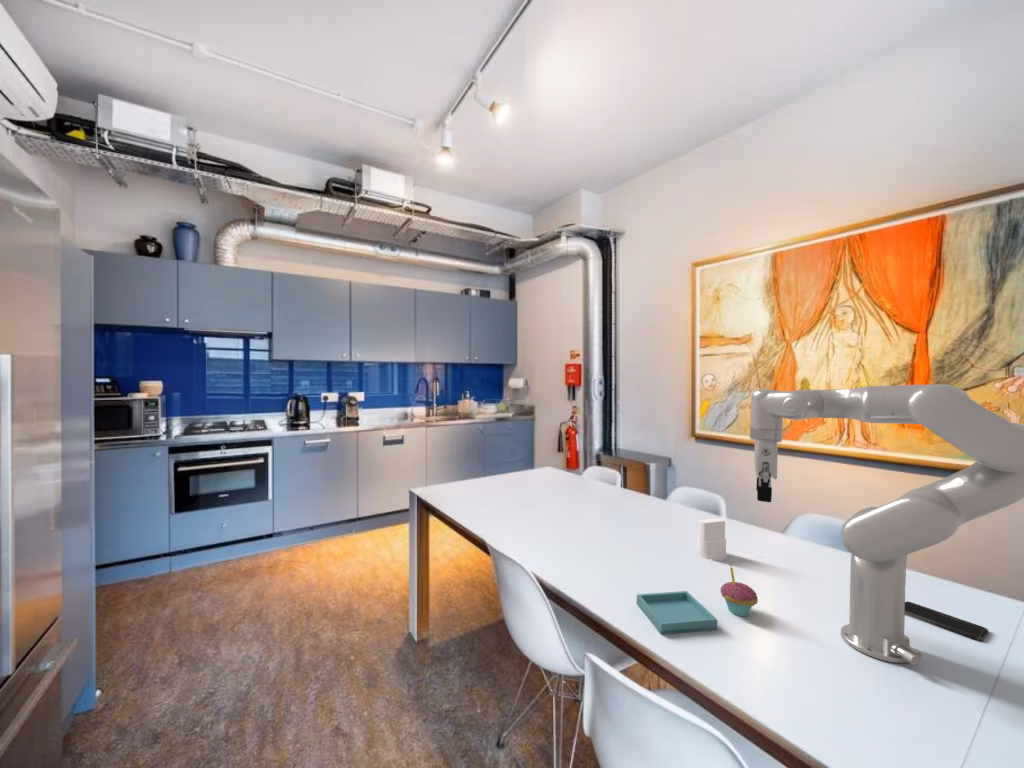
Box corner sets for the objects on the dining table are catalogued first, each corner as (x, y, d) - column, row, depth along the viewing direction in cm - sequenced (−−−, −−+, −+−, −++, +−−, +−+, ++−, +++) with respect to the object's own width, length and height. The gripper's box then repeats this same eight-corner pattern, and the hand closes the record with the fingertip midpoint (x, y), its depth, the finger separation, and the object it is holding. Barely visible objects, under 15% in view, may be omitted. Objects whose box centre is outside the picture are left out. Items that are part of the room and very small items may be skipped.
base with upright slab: (709, 561, 139) (710, 526, 138) (691, 550, 147) (691, 517, 147) (732, 558, 141) (732, 523, 141) (712, 548, 150) (713, 515, 150)
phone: (981, 639, 97) (896, 609, 109) (981, 644, 97) (896, 613, 109) (989, 628, 101) (907, 600, 114) (989, 633, 101) (907, 604, 114)
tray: (717, 629, 101) (717, 619, 101) (661, 634, 100) (661, 624, 99) (686, 599, 115) (686, 590, 115) (636, 603, 113) (636, 594, 113)
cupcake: (720, 614, 108) (720, 569, 108) (720, 599, 115) (721, 556, 115) (758, 623, 104) (759, 576, 104) (756, 607, 111) (757, 563, 111)
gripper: (784, 440, 104) (782, 507, 105) (779, 432, 119) (777, 490, 120) (750, 437, 108) (747, 502, 108) (749, 429, 123) (747, 487, 124)
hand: (763, 496), depth 114 cm, fingers open, 9 cm apart
